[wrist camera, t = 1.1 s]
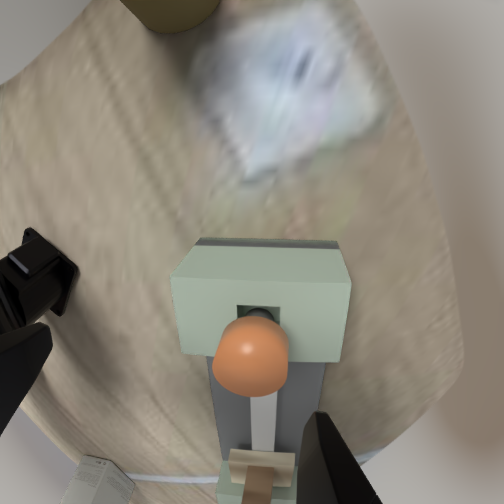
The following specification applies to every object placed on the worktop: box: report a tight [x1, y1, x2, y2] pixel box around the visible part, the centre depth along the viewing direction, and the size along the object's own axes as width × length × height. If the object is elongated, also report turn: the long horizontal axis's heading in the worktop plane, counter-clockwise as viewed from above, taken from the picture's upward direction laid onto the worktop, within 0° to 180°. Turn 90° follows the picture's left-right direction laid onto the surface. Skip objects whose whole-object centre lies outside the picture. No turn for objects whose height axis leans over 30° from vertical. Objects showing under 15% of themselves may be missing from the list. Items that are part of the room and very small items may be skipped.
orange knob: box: [212, 308, 289, 397], centre depth 15 cm, size 3×3×4 cm
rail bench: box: [170, 238, 352, 504], centre depth 24 cm, size 30×9×6 cm, turn 1°
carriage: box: [228, 449, 295, 504], centre depth 23 cm, size 5×6×8 cm
